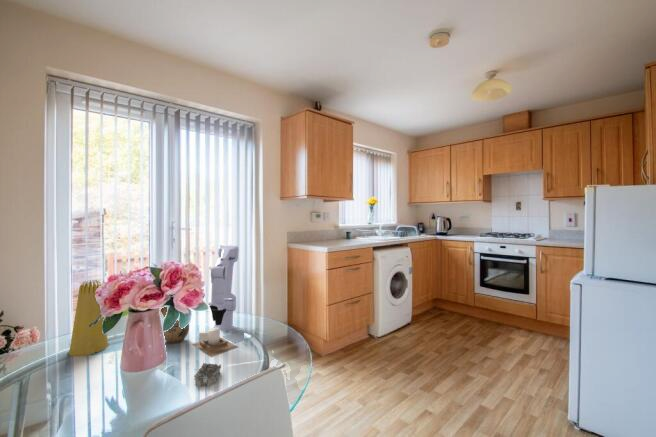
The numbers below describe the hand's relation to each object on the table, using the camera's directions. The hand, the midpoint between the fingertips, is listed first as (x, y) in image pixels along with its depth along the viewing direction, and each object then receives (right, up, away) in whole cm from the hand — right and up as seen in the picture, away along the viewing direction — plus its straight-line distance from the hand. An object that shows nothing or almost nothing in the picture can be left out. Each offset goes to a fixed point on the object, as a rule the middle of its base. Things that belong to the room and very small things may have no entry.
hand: (217, 322), depth 133 cm
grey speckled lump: (+6, -12, -25) cm, 29 cm away
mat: (+6, -11, +11) cm, 17 cm away
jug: (-4, -11, 0) cm, 11 cm away
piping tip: (-55, -10, -5) cm, 56 cm away
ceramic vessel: (-21, -11, +4) cm, 24 cm away
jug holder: (-1, -11, 0) cm, 11 cm away
